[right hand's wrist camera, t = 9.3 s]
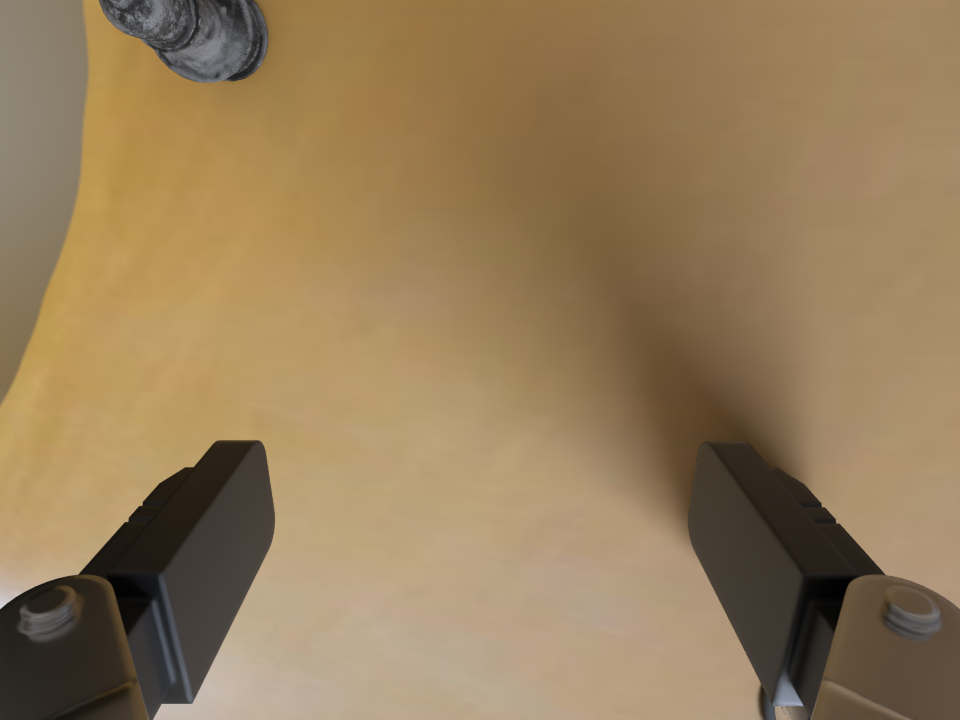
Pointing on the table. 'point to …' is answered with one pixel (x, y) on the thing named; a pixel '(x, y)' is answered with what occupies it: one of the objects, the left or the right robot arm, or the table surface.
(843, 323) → the table surface
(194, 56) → the grey chess piece
